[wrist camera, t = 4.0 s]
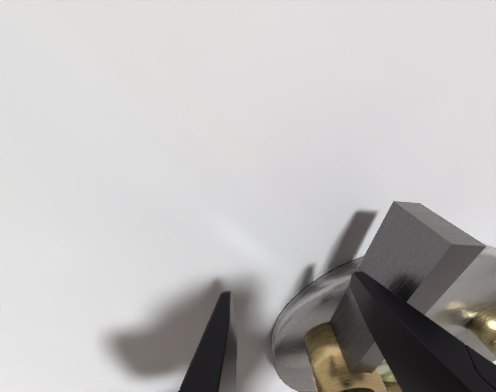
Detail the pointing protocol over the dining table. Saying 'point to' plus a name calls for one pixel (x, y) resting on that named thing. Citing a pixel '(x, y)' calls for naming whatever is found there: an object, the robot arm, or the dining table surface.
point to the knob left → (397, 281)
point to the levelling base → (331, 292)
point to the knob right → (485, 328)
